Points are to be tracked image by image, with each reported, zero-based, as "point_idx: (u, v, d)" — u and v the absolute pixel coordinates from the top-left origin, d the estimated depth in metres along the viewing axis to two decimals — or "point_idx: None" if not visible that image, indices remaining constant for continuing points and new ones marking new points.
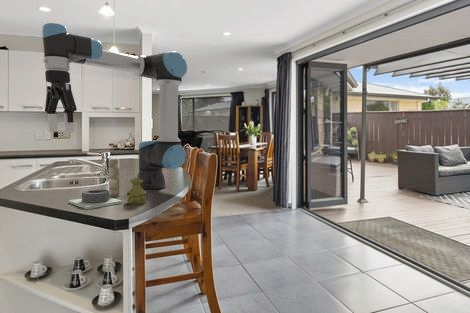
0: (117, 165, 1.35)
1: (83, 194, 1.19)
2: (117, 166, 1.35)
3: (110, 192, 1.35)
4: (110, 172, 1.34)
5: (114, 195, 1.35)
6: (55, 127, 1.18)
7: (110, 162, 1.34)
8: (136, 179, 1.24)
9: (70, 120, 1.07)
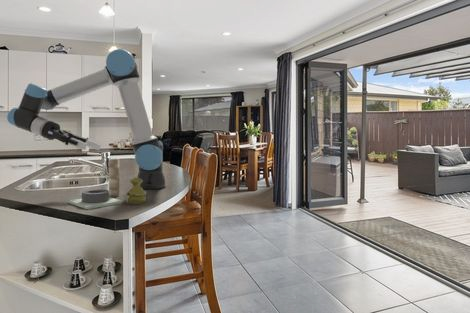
0: (117, 165, 1.35)
1: (83, 194, 1.19)
2: (117, 166, 1.35)
3: (110, 192, 1.35)
4: (110, 172, 1.34)
5: (114, 195, 1.35)
6: (96, 144, 1.42)
7: (110, 162, 1.34)
8: (136, 179, 1.24)
9: (74, 143, 1.27)
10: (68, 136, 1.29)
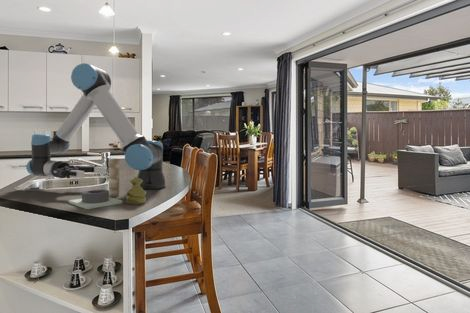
0: (117, 165, 1.35)
1: (83, 194, 1.19)
2: (117, 166, 1.35)
3: (110, 192, 1.35)
4: (110, 172, 1.34)
5: (114, 195, 1.35)
6: (103, 169, 1.45)
7: (110, 162, 1.34)
8: (136, 179, 1.24)
9: (73, 174, 1.32)
10: (69, 169, 1.36)
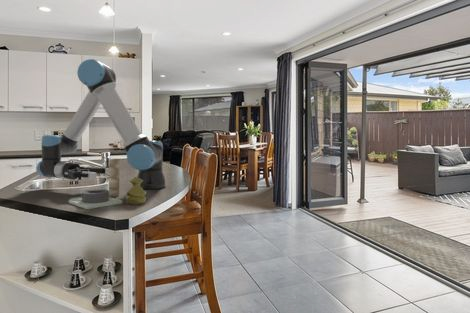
0: (117, 165, 1.35)
1: (83, 194, 1.19)
2: (117, 166, 1.35)
3: (110, 192, 1.35)
4: (110, 172, 1.34)
5: (114, 195, 1.35)
6: None
7: (110, 162, 1.34)
8: (136, 179, 1.24)
9: (84, 176, 1.30)
10: (80, 171, 1.33)
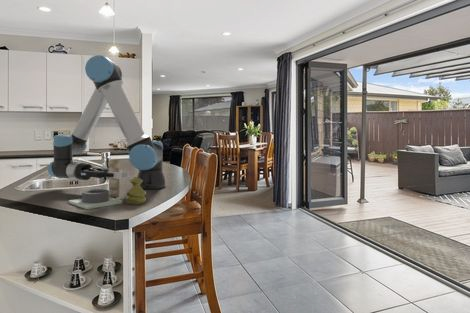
0: (117, 165, 1.35)
1: (83, 194, 1.19)
2: (117, 166, 1.35)
3: (110, 192, 1.35)
4: None
5: (114, 195, 1.35)
6: (124, 172, 1.37)
7: (110, 162, 1.34)
8: (136, 179, 1.24)
9: (110, 175, 1.32)
10: (103, 171, 1.35)
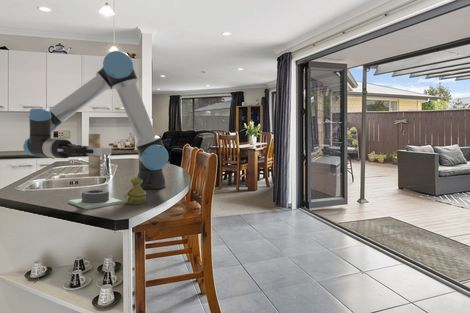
0: (98, 141, 1.20)
1: (83, 194, 1.19)
2: (98, 142, 1.20)
3: (90, 171, 1.20)
4: None
5: (94, 174, 1.21)
6: (106, 149, 1.22)
7: (90, 137, 1.20)
8: (136, 179, 1.24)
9: (89, 152, 1.18)
10: (82, 147, 1.21)
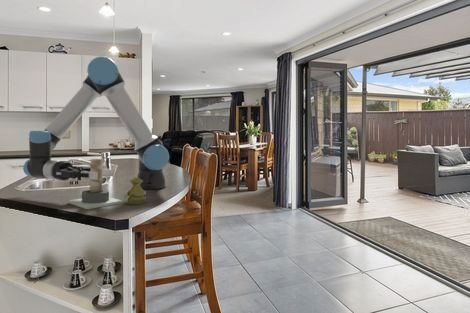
0: (100, 166, 1.21)
1: (83, 194, 1.19)
2: (100, 167, 1.21)
3: None
4: None
5: None
6: (109, 171, 1.25)
7: (92, 162, 1.20)
8: (136, 179, 1.24)
9: (85, 176, 1.16)
10: None
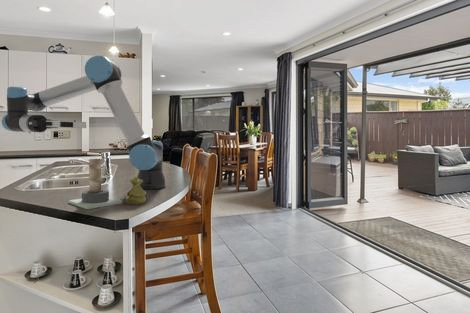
0: (98, 166, 1.21)
1: (83, 194, 1.19)
2: (98, 167, 1.21)
3: None
4: (90, 174, 1.20)
5: None
6: (82, 123, 1.38)
7: (90, 162, 1.20)
8: (136, 179, 1.24)
9: (48, 124, 1.25)
10: None
